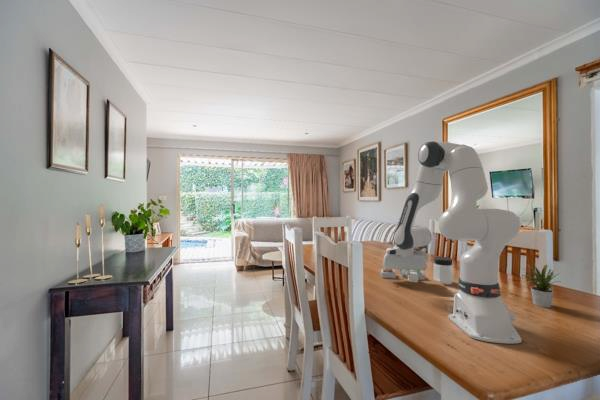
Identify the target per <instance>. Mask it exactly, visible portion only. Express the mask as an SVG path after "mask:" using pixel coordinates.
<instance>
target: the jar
mask: <svg viewBox="0 0 600 400" xmlns="http://www.w3.org/2000/svg"><path fill="white" fill-rule="evenodd" d="M433 260H434V262H433V280H434V281H438V282H439V283H442V284H443V285H448V286H449V285H452V284H454V262H453V259H452V258H451V257H447V256H436V257H434V259H433Z"/></svg>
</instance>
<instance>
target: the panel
mask: <svg viewBox="0 0 600 400" xmlns="http://www.w3.org/2000/svg"><path fill="white" fill-rule="evenodd" d="M395 270H396V269H392V272H384V268H382V269H380V276H381V277H380V278H382V279H396V278H397V272H396V271H395ZM423 271H424V270H420V274H418V281H425V280H426V275H425V274H426V273H424V272H423ZM410 272H412V270H410Z"/></svg>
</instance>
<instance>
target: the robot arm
mask: <svg viewBox="0 0 600 400" xmlns="http://www.w3.org/2000/svg"><path fill="white" fill-rule="evenodd" d="M417 155H418V156H417V158H418V162H419V163H420V164H419V168H418V170H417V174H416V178H415V183H414V186H413V189H412V190H411V193H410V194H408V196H407V198H406V200H405V202H404V206H403V210H402V212H401V215H400V217H399V219H397V220H396V221H395V226H394V232H393V236H392V237H393V238H392V240H393V243H394V246H391V247H387V248H386V250H385V254H384V256H383V269H384V268H385V269H392V270H398V272H399V273H400V276H401V279H408V274H409V273H410V270H420V271H426V270H427V268H428V267H427V257H428V255H427V253H426V252H424V250H415V249H416V248H420V247H426V246H429V244H430V243H431V241H432V233H431V231H430V230H429V228H427V227H426V226H423V225H420V224H418V223H416V222H415V219H416V216H417V214H418V212H419V211H420V210H421V209H422V208H423V207H424V206H426V205H427V204H430V203H432V202H435V200H436V199H437V198H439V196H440V194H441V191H442V188H443V187H442V186H443V182H444V176H445V173H446V172H448V175H449V180H450V187H451V193H452V194H451V195H452V197H451V203H450V205H449V206H448V208H447V209H446V210H445V211H444V212H442V214H441V215H440V217H439V219H438V222H437V223H438V224H437V225H438V230H439V232H440V233H441V235H442V236H443V237H444V238H446V239H448V240H453V241H461V242H463V241H465V242H466V241H467V242H469V241H471V242H473V241H474V243H473V246H472V247H471V248H470V249H468V250H467V251H465V252H463V253H462V254H461V256H460V258H459V277H458V281H457V282H458V284H457V285H458V291H457V292H456V293H455V294H454V297H453V311H452V312H453V313H450V314H449V315H448V319H449V320H450V321H451V322H452V323H454V324H455V325H456V326H457V327H458V328H459V329H460V330H461V331H463V332H464V333H465V334H466V335H467V336H469V337H470V338H471V339H475V340H479V341H483V342H489V343H496V344H507V345H508V344H520V343H522V337H521V336H520V334H519V332H518V331H517V330H516V328H515V327H514V325H513V324H512V321H514V320H515V314H514V313H513V312H510V311H508V305H507V304H505V302H504V300H503V298H502V297H501V295H502V294H501V287H500V283H499V281H498V280H499V279H498V278H499V276H498V274H499V260H500V257H501V255H502V252H503V250H504V248H505V247H506V246H507V244H508V243H509V242H510V241H512V240H513V239H514V238H515V237H517V236H518V234H519V233H520V231H521V221H520V219H519V217H518V215H517V214H516V213H514V212H513V211H510V210H506V209H500V208H478V206H477V202H478V201H479V200H480V199H482V198H484V197H485V196H486V194H487V192H488V191H489V187H488V182H487V178H486V175H485V171H484V167H483V164H482V161H481V159H480V157H479V155H478V152H476V149H475V148H473V147H472V146H469V145H466V144H458V143H456V142H455V143H453V142H449V141H427V142H424V143H423V144H422V145H421V146H420V148H419V149H418V153H417ZM403 269H405V270H407V271H406V273H405V274H403V273H402V271H403Z"/></svg>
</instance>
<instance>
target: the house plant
mask: <svg viewBox="0 0 600 400" xmlns="http://www.w3.org/2000/svg"><path fill="white" fill-rule="evenodd" d="M523 264H524V265H526V266H527V267H529V268H530V269H531V271H530V270H528V269H526V267H525V268H524V267H523V270H525V271H526V272H528V273H529V274H530V275H529V274H526V273H525V275H524V274H521V276H522V277H524V278H525V280H524V281H523V283H525V282H526V285H527V284H530V283H532V284H533V285H534V286H530V291H531V297H532V302H533V304H534V305H535V306H537V307H542V308H551V306H552V303H553V298H554V293H555V290H554V289H551V288H555V286H552V285H553V284H555V283H560V281H554V282H551V281H552V280H553V278H555V277H556V276H558V275H559V274H560V273H561V272H560V273H557V274H555V273H554V272H555V269H552V267H550V268H549V269H548V267H549V265H547V264H545V265H544V266H543V268H542V269H541V272H540V270H539V269H538V268H537V266H536V265H535V266H534V268H533V267H532V266H531V265H529V264H526V263H523ZM519 268H520V269H521V268H522V267H519ZM547 269H548V272H547ZM546 272H547V275H546ZM534 276H535V277H534ZM526 279H527V280H526ZM529 279H530V280H529ZM550 282H551V283H550Z"/></svg>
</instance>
